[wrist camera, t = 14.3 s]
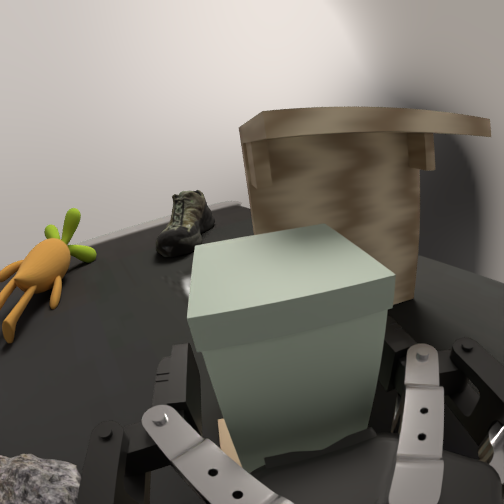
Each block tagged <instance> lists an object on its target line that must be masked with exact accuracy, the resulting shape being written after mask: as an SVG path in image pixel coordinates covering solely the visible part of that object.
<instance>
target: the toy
mask: <svg viewBox="0 0 504 504" xmlns="http://www.w3.org/2000/svg"><path fill="white" fill-rule="evenodd" d="M80 216H81V215H80V212H79V211H78V209H75V208H72V209H69V211H68V212H67V214H66V216H65V220H64V226H63V233H62V239H61V240H60V236H59V232H58V229H57V228H56V227H55V226H54V225H48V226H47V227H46V228H45V236H46V238H47V239H46V240H44V241H42V242H40V243H39V244H38V245H36V246H35V247H34V248H33V249H32V250H31V251H30V252H29V254H28V255H27V256H26V258H25V259H24V260H20V261H17V262H14V263H12V264H10V265H8V266H6V267H5V268H4V269H3V270H1V271H0V282H3V281H5V280H6V279H8V278H9V277H10V276H11V275H13V274H14V273H15V272H17V273H16V275H15V277H14V278H13V279H12V280H11V281H10V282H9V283H8V284H7V285H6V286H5V288H4V289H3V290H2V291H1V293H0V310H1V308H2V306H3V305H4V303H5V302H6V300H7V298H8V297H9V296H10V294H11V293H12V292H13V290H14V289H15V288H16V286H18V287H19V288H20V289H21V290H22V291H24V292H25V293H24V295H23V296H22V298H21V299H20V301H19V302H18V303H17V304H16V306H15V307H14V308H13V310H12V311H11V312H10V314H9V315H8V316H7V317H6V319H5V320H4V321H3V324H2V330H3V335H4V338H5V340H6V342H7V343H12V342H13V339H14V334H15V327H16V323H17V321H18V319H19V317H20V316H21V314H22V312H23V311H24V309H25V308H26V306H27V304H28V303H29V301H30V299H31V298H32V296H33V294H34V293H41V292H45V291H47V290H49V289H51V288H53V290H52V294H51V298H50V307H51V309H55V308H56V307H57V306H58V303H59V301H60V296H61V290H62V281H61V279H62V278H63V277H64V275H65V274H66V272H67V270H68V268H69V264H70V255H71V256H74V257H76V258H77V259H79V260H81V261H83V262H86V263H89V262H92V261H94V260H95V259H96V251H95V250H94V249H93V248H91V247H88V246H82V245H68V243H69V242H70V240H71V238H72V236H73V234H74V232H75V231H76V229H77V227H78V224H79V222H80Z"/></svg>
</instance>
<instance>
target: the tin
mask: <svg viewBox="0 0 504 504" xmlns="http://www.w3.org/2000/svg"><path fill="white" fill-rule="evenodd" d="M395 278H396V275H395V274H394V273H393V272H392V271H390V270H389V269H388V268H386V267H385V266H384V265H382V264H381V263H379V262H378V261H377V260H375V259H374V258H373V257H371V256H370V255H369V254H367V253H366V252H365V251H363V250H362V249H360V248H359V247H358V246H356V245H355V244H353V243H352V242H351V241H349V240H348V239H346V238H345V237H344V236H342V235H341V234H339V233H338V232H336V231H335V230H334V229H332V228H331V227H329V226H328V225H326V224H325V223H324V224H318V225H312V226H306V227H300V228H294V229H288V230H282V231H276V232H270V233H264V234H259V235H253V236H247V237H241V238H236V239H230V240H225V241H219V242H213V243H208V244H202V245H197V246H195V250H194V258H193V266H192V275H191V284H190V293H189V303H188V313H187V320H188V324H189V327H190V330H191V334H192V337H193V340H194V344H195V347H196V350H197V352H202V354H203V357H204V360H205V363H206V367H207V370H208V373H209V376H210V379H211V382H212V385H213V388H214V391H215V394H216V397H217V400H218V403H219V406H220V409H221V412H222V415H223V417H224V420H225V423H226V426H227V429H228V431H229V434H230V437H231V439H232V442H233V445H234V447H235V450H236V453H237V455H238V458H239V460H240V463H241V465H242V468H243V469H244V470H245V471H247V472H248V473H251V472H252V471H253V470H255V469H257V468H259V467H261V466H263V465H265V461H264V458H265V457H270V456H274V455H279V454H284V453H288V452H294V451H313V450H322V449H325V448H327V447H328V446H330V445H332V444H334V443H335V442H337V441H339V440H341V439H342V438H344V437H346V436H348V435H350V434H353V433H356V432H359V431H362V430H364V429H367V426H368V422H369V418H370V414H371V409H372V405H373V400H374V396H375V391H376V386H377V380H378V375H379V369H380V363H381V357H382V351H383V344H384V337H385V329H386V320H387V311H388V309H391V308H393V301H394V290H395Z"/></svg>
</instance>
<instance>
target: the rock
mask: <svg viewBox="0 0 504 504" xmlns="http://www.w3.org/2000/svg"><path fill="white" fill-rule="evenodd" d="M80 481H81V476H80V474H79V472H78V470H77V465H73V464H71V463H69V462H64V461H60V460H53V459H41V458H37V457H36V456H34V455H32V454H21V455H18V456H16V457H13V458H8V457H5V456H0V504H76V502H77V496H78V491H79V486H80Z"/></svg>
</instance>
